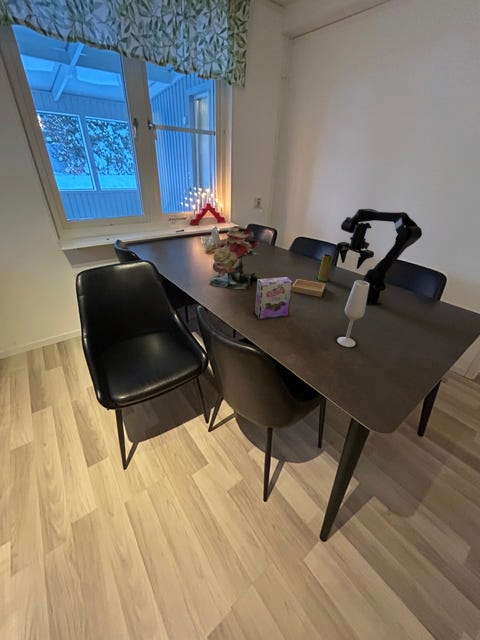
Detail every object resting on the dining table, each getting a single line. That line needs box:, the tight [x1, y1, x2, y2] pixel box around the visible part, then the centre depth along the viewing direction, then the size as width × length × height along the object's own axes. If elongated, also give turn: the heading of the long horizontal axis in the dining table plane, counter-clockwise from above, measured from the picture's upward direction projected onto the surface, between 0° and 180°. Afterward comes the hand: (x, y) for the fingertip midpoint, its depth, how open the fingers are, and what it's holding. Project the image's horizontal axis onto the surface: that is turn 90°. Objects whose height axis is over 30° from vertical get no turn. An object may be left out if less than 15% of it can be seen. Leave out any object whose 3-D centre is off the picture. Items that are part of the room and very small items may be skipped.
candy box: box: [254, 276, 293, 320], centre depth 117 cm, size 14×6×16 cm, turn 105°
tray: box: [291, 278, 327, 298], centre depth 145 cm, size 16×12×3 cm
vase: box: [317, 253, 333, 282], centre depth 156 cm, size 6×6×14 cm
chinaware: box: [199, 225, 222, 252], centre depth 209 cm, size 28×17×17 cm, turn 17°
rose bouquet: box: [209, 225, 262, 290], centre depth 146 cm, size 26×29×30 cm
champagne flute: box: [336, 279, 369, 348], centre depth 98 cm, size 7×7×24 cm
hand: (350, 265), depth 142 cm, fingers open, 9 cm apart
